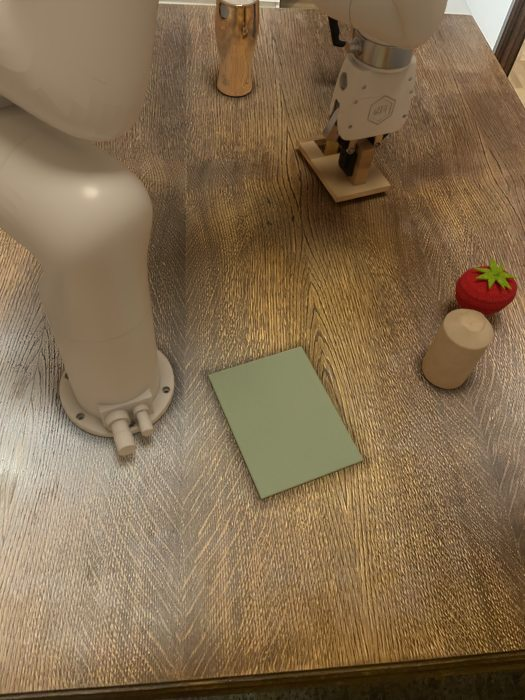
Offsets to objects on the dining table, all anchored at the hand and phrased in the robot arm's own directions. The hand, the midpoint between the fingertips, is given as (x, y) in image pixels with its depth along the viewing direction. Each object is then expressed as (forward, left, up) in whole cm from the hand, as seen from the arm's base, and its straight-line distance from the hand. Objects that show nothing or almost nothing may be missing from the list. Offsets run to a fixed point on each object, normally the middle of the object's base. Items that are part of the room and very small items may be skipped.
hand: (353, 168), depth 89 cm
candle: (-34, +5, -3) cm, 34 cm away
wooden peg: (+7, 0, -3) cm, 8 cm away
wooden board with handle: (+3, 0, -2) cm, 4 cm away
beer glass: (+29, +7, -3) cm, 30 cm away
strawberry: (-28, -3, -3) cm, 28 cm away
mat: (-33, +26, -3) cm, 42 cm away
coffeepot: (+22, -13, -3) cm, 26 cm away
